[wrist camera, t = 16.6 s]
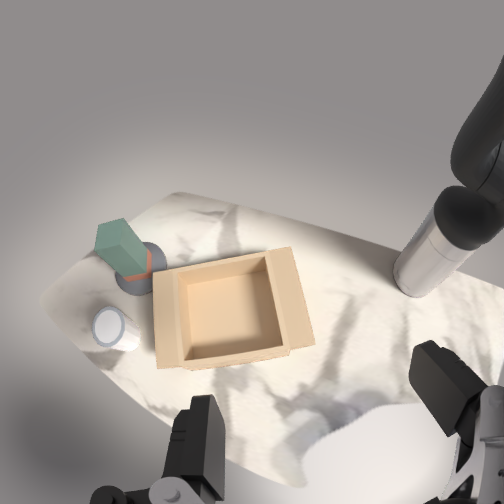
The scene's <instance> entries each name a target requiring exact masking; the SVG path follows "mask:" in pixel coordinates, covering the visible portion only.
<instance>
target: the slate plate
mask: <svg viewBox="0 0 504 504" xmlns="http://www.w3.org/2000/svg"><path fill="white" fill-rule="evenodd" d="M142 243H143V244H144V245H145V247H146V248H147V249H148V250H149V251H150V252H151V254H152V262H151V278H147V279H141V280H136V281H130V282H127V281H126V280H125V279H124V278H123V277H122V276H121V275H120V274H119V273H118V272H117V271H116V280H117V283H118V285H119V286H120V288H121V289H123V290H124V291H125V292H126V293H128V294H130V295H134V296H140V295H145V294H147V293H149V292H151V291H153V273H154V272H159V271H164V270H166V269H167V260H166V257H165V254H164V253H163V251H162V250H161V249H160V248H159V247H158V246H157V245H155V244H153V243H150V242H142Z"/></svg>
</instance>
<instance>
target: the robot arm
mask: <svg viewBox="0 0 504 504" xmlns="http://www.w3.org/2000/svg"><path fill="white" fill-rule="evenodd" d="M451 169H452V171H453V174H454V175H455V177H456V178H457V179H458V180H459V181H460V182H461V183H462V184H463V185H465V186H466V187H463V186H450V187H447V188H446V189H444V191H442V192H441V194H440V196H439V197H438V199H437V201H436V202H435V204H434V205H433V207H432V209H431V210H430V212H429V213H428V215H427V217H426V218H425V220H424V221H423V223H422V224H421V226H420V227H419V229H418V230H417V232H416V233H415V234H414V236H413V237H412V239H411V240H410V242H409V243H408V244H407V246H406V247H405V249H404V250H403V251H402V253H401V254H400V255H399V257H398V258H397V260H396V261H395V264H394V267H393V274H394V279H395V281H396V283H397V285H398V287H399V288H400V289H401V290H402V291H403V292H404V293H405V294H407V295H408V296H411V297H416V298H419V297H423V296H426V295H427V294H428V293H429V292H431V291H432V290H433V289H434V288H436V287H437V286H438V285H439V284H440V283H442V282H443V281H444V280H445V279H446V278H447V277H448V276H449V275H451V274H452V273H453V272H454V271H455V270H456V269H457V268H458V267H459V266H460V265H461V264H463V262H465V261H466V260H467V259H468V258H469V257H470V256H471V255H472V254H473V253H474V252H475V251H476V250H477V249H478V248H479V247H480V246H481V245H482V244H485V243H487V242H489V241H490V240H491V239H492V238H494V237H495V236H496V234H497V233H499V232H500V231H501V230H502V229H503V228H504V56H503V58H502V60H501V63H500V65H499V67H498V69H497V72H496V74H495V75H494V78H493V79H492V81H491V83H490V84H489V86H488V87H487V89H486V91H485V92H484V94H483V95H482V97H481V98H480V100H479V102H478V103H477V104H476V106H475V107H474V109H473V110H472V112H471V113H470V115H469V116H468V118H467V120H466V121H465V123H464V124H463V126H462V128H461V130H460V132H459V133H458V135H457V137H456V140H455V142H454V145H453V148H452V152H451ZM409 381H410V384H411V386H412V387H413V389H414V390H415V392H416V393H417V394H418V396H419V397H420V398H421V400H422V401H423V403H424V404H425V405H426V407H427V408H428V410H429V411H430V413H431V414H432V415H433V417H434V418H435V419H436V421H437V423H438V424H439V425H440V427H441V428H442V430H443V431H444V433H445V434H446V436H447V437H450V436H451V435H453V434H455V433H456V432H457V433H458V434H459V437H458V439H457V445H456V452H455V458H454V463H453V469H452V473H451V477H450V480H449V482H448V484H447V486H446V488H445V490H444V492H443V495H442V498H441V500H439V499H438V497H435V498H434V499H431V500H430V501H428V502H426V503H425V504H504V387H501V386H498V385H493V386H487V385H486V384H485V383H484V382H483V381H482V380H481V379H480V378H479V377H478V375H477V374H476V373H475V372H474V371H473V370H472V369H471V368H470V367H469V366H466V364H465V363H464V362H463V361H462V360H460V358H459V357H458V356H457V355H456V354H455V353H454V352H453V351H451V350H449V349H446V348H444V347H442V348H440V347H439V346H438V345H437V344H436V343H435V342H434V341H432V340H429V341H426V342H424V343H422V344H419V345H417V346H415V347H414V349H413V354H412V359H411V365H410V370H409ZM224 479H225V424H224V420H223V417H222V415H221V412H220V410H219V407H218V405H217V403H216V400H215V398H214V396H213V395H212V394H211V395H200V396H193V397H192V400H191V405H190V409H188V410H181V411H180V412H179V414H178V415H177V417H176V418H175V419H174V423H173V427H172V433H171V437H170V442H169V446H168V452H167V456H166V462H165V467H164V472H163V475H162V477H161V479H159V480H158V481H156V482H155V483H154V484H153V485H152V486H151V488H148V489H144V490H138V491H131V492H123V491H121V490H120V489H118V488H117V487H114V486H102V487H100V488H98V489H97V490H95V492H94V493H93V494H92V497H91V500H90V504H215V501H224Z"/></svg>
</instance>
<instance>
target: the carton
mask: <svg viewBox="0 0 504 504" xmlns="http://www.w3.org/2000/svg"><path fill="white" fill-rule="evenodd" d="M153 313H154V334H155V350H156V362H157V369H163V368H175V367H182V368H185V369H188V370H201V369H210V368H217V367H225V366H232V365H238V364H245V363H251V362H257V361H262V360H268V359H273V358H278V357H283V356H288V355H289V353H290V350H293V349H298V348H302V347H307V346H311V345H315V339H314V335H313V331H312V327H311V323H310V318H309V314H308V310H307V306H306V302H305V298H304V294H303V290H302V287H301V283H300V279H299V275H298V271H297V267H296V264H295V260H294V256H293V253H292V249H291V246H290V247H285V248H280V249H275V250H269V251H264V252H259V253H254V254H248V255H243V256H238V257H233V258H227V259H222V260H217V261H212V262H206V263H201V264H196V265H191V266H185V267H180V268H175V269H170V270H164V271H159V272H154V273H153Z"/></svg>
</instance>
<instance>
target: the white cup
mask: <svg viewBox="0 0 504 504" xmlns="http://www.w3.org/2000/svg"><path fill="white" fill-rule="evenodd" d="M92 334H93V338H94V339H95V341H96V342H97V343H98V344H99V345H101V346H103V347H106V348H111V349H116V350H122V351H132V350H134V349H136V347H137V346H138V345H139V343H140V341H141V331H140V328H139V327H138V326H137V325H136V324H135V323H134V322H133V321H132V320H131V319H129V318H128V317H127V316H126V315H125V314H123V313H122V312H121V311H120V310H119V309H117V308H115V307H105V308H103V309H101V310H100V311H99V312H98V313H97V314H96V315H95V318H94V320H93V322H92Z"/></svg>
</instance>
